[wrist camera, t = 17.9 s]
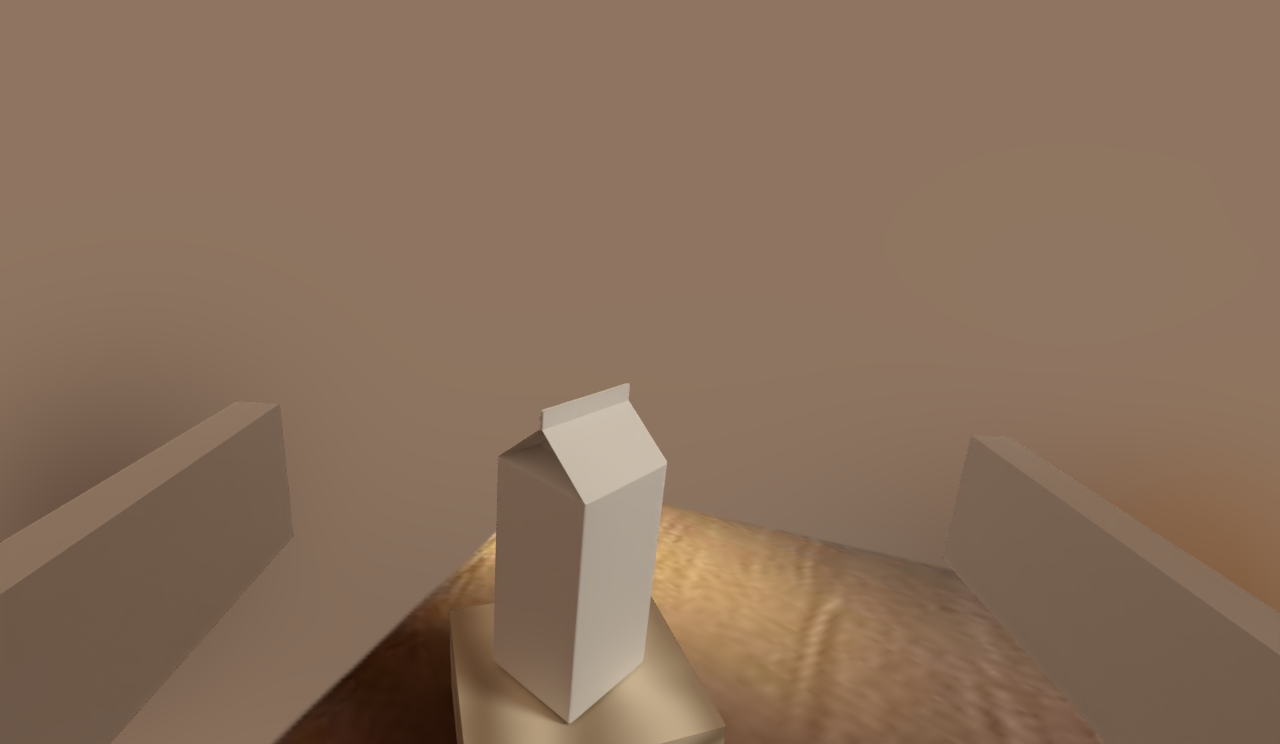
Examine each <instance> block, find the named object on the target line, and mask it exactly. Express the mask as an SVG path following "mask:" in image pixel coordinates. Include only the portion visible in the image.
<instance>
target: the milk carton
mask: <svg viewBox="0 0 1280 744" xmlns="http://www.w3.org/2000/svg"><path fill="white" fill-rule="evenodd" d="M629 389H630V384H628V383H626V384H623V385H620V386H617V387H613V388H610V389H607V390H604V391H601V392H597V393H594V394H591V395H589V396H585V397H582V398H579V399H575V400H572V401H569V402H566V403H563V404H560V405H557V406H554V407H550V408H547V409H544V410H542V411H541V416H540V418H539V419H540V421H541V426H540V427H541V428H540V430H538V431H537V432H535V433H534V434H532V435H531V436H529V437H527V438H526V439H524V440H523V441H521V442H520V443H518V444H517V445H515V446H514V447H512V448H511V449H509V450H507V451H506V452H504V453H503V454H501V455H500V456H499V457H498V458H499V459H498V483H497V487H498V488H497V524H496V526H497V527H496V564H495V604H494V645H493V660H494V661H495V662H496V663H497V664H498V665H499V666H500V667H502V668H503V669H504V670H505V671H506V672H508V673H509V674H510V675H511V676H512V677H513V678H515V679H516V680H517V681H518V682H519V683H521V684H522V685H523V686H524V687H525V688H527V689H528V690H529V691H530V692H531V693H533V694H534V695H535V696H536V697H537V698H539V699H540V700H541V701H542V702H543V703H544V704H546V705H547V706H548V707H549V708H550V709H552V710H553V711H554V712H555V713H556V714H558V715H559V716H560V717H561V718H562V719H564V720H565V721H566V722H567V723H569V724H570V723H572V722H573V721H574V720H576V719H577V718H578V717H579V716H580V715H582V714H583V713H584V712H585V711H586V710H587V709H588V708H590V707H591V706H592V705H593V704H594V703H595V702H597V701H598V700H599V699H600V698H601V697H602V696H604V695H605V694H606V693H607V692H608V691H609V690H611V689H612V688H613V687H614V686H615V685H616V684H618V683H619V682H620V681H621V680H622V679H623V678H625V677H626V676H627V675H628V674H629V673H630V672H631V671H633V670H634V669H635V668H636V667H637V666H638V665H639V664H641V663H642V661H643V658H644V651H645V642H646V634H647V626H648V617H649V609H650V600H651V592H652V584H653V575H654V567H655V559H656V550H657V542H658V534H659V525H660V517H661V509H662V500H663V491H664V483H665V475H666V467H667V461H666V460H665V458H664V456H663V455H662V454H661V452H660V450H659V448H658V447H657V445H656V444H655V442H654V440H653V439H652V437H651V436H650V434H649V433H648V431H647V429H646V428H645V426H644V424H643V423H642V421H641V420H640V418H639V416H638V415H637V413H636V412H635V410H634V408H633V407H632V405H631V404H630V402H629V400H628V399H629Z"/></svg>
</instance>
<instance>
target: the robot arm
mask: <svg viewBox="0 0 1280 744" xmlns="http://www.w3.org/2000/svg"><path fill="white" fill-rule="evenodd" d="M293 536H294V533H293V524H292V515H291V505H290V497H289V487H288V478H287V468H286V459H285V449H284V440H283V430H282V421H281V412H280V404H276V403H254V402H253V403H252V402H235V403H233V404H232V405H230V406H228V407H226V408H225V409H223V410H221V411H220V412H218V413H216V414H215V415H213V416H211V417H210V418H208V419H207V420H205V421H203V422H202V423H200V424H198V425H197V426H195V427H193V428H191V429H190V430H188V431H187V432H185V433H183V434H181V435H180V436H178V437H176V438H175V439H173V440H171V441H170V442H168V443H166V444H165V445H163V446H161V447H160V448H158V449H156V450H155V451H153V452H151V453H150V454H148V455H146V456H145V457H143V458H141V459H140V460H138V461H136V462H135V463H133V464H131V465H130V466H128V467H126V468H124V469H123V470H121V471H119V472H118V473H116V474H115V475H113V476H111V477H109V478H108V479H106V480H104V481H103V482H101V483H99V484H98V485H96V486H95V487H93V488H91V489H89V490H88V491H86V492H84V493H83V494H81V495H79V496H78V497H76V498H74V499H73V500H71V501H69V502H68V503H66V504H64V505H63V506H61V507H59V508H58V509H56V510H54V511H53V512H51V513H49V514H48V515H46V516H44V517H43V518H41V519H39V520H38V521H36V522H34V523H33V524H31V525H29V526H28V527H26V528H24V529H22V530H21V531H19V532H17V533H16V534H14V535H12V536H11V537H9V538H7V539H6V540H4V541H3V542H0V744H110V743H111V742H112V741H113V740H114V739H115V738H116V737H117V735H118V734H119V733H120V732H121V731H122V730H123V729H124V728H125V726H126V725H127V724H128V723H129V722H130V721H131V720H132V719H133V717H134V716H135V715H136V714H137V713H138V712H139V711H140V710H141V708H142V707H143V706H144V705H145V704H146V703H147V702H148V700H149V699H150V698H151V697H152V696H153V695H154V693H156V691H157V690H158V689H159V688H160V687H161V686H162V685H163V683H164V682H165V681H166V680H167V679H168V678H169V677H170V675H171V674H172V673H173V672H174V671H175V670H176V669H177V668H178V666H179V665H180V664H181V663H182V662H183V661H184V660H185V659H186V657H187V656H188V655H189V654H190V653H191V652H192V651H193V650H194V648H195V647H196V646H197V645H198V644H199V643H200V641H201V640H202V639H203V638H204V637H205V636H206V635H207V634H208V632H209V631H210V630H211V629H212V628H213V627H214V626H215V625H216V624H217V622H218V621H219V620H220V619H221V618H222V617H223V616H224V614H225V613H226V612H227V611H228V610H229V609H230V608H231V607H232V605H233V604H234V603H235V602H236V601H237V600H238V599H239V597H240V596H241V595H242V594H243V593H244V592H245V591H246V590H247V588H248V587H249V586H250V585H251V584H252V583H253V582H254V581H255V579H256V578H257V577H258V576H259V575H260V574H261V572H262V571H263V570H264V569H265V568H266V567H267V566H268V565H269V563H270V562H271V561H272V560H273V559H274V558H275V556H276V555H277V554H278V553H279V552H280V551H281V550H282V549H283V548H284V547H285V545H286V544H287V543H288V542H289V541H290V540H291V538H293ZM942 558H943V559H944V560H945V561H946V562H947V564H948V565H949V566H950V567H951V568H952V569H953V570H954V572H955V573H956V574H957V575H958V576H959V577H960V578H961V580H962V581H963V582H964V583H965V584H966V585H967V586H968V588H969V589H970V590H971V591H972V592H973V593H974V594H975V596H976V597H977V598H978V599H979V600H980V601H981V602H982V604H983V605H984V606H985V607H986V608H987V609H988V610H989V612H990V613H991V614H992V615H993V616H994V617H995V618H996V620H997V621H998V622H999V623H1000V624H1001V625H1002V626H1003V628H1004V629H1005V630H1006V631H1007V632H1008V633H1009V634H1010V636H1011V637H1012V638H1013V639H1014V640H1015V641H1016V642H1017V644H1018V645H1019V646H1020V647H1021V648H1022V649H1023V650H1024V652H1025V653H1026V654H1027V655H1028V656H1029V657H1030V658H1031V660H1032V661H1033V662H1034V663H1035V664H1036V665H1037V666H1038V668H1039V669H1040V670H1041V671H1042V672H1043V673H1044V674H1045V676H1046V677H1047V678H1048V679H1049V680H1050V681H1051V682H1052V684H1053V685H1054V686H1055V687H1056V688H1057V689H1058V690H1059V692H1060V693H1061V694H1062V695H1063V696H1064V697H1065V698H1066V700H1067V701H1068V702H1069V703H1070V704H1071V705H1072V706H1073V708H1074V709H1075V710H1076V711H1077V712H1078V713H1079V714H1080V716H1081V717H1082V718H1083V719H1084V720H1085V721H1086V722H1087V724H1088V725H1089V726H1090V727H1091V728H1092V729H1093V730H1094V732H1095V733H1096V734H1097V735H1098V736H1099V737H1100V738H1101V740H1102V741H1103V742H1104V743H1105V744H1280V613H1279V612H1277V611H1276V610H1274V609H1273V608H1271V607H1270V606H1268V605H1267V604H1265V603H1263V602H1262V601H1260V600H1259V599H1257V598H1256V597H1254V596H1253V595H1251V594H1250V593H1248V592H1247V591H1245V590H1243V589H1242V588H1240V587H1239V586H1237V585H1236V584H1234V583H1233V582H1231V581H1230V580H1228V579H1226V578H1225V577H1223V576H1222V575H1220V574H1219V573H1217V572H1216V571H1214V570H1213V569H1211V568H1210V567H1208V566H1206V565H1205V564H1203V563H1202V562H1200V561H1199V560H1197V559H1196V558H1194V557H1193V556H1191V555H1190V554H1188V553H1186V552H1185V551H1183V550H1182V549H1180V548H1179V547H1177V546H1176V545H1174V544H1173V543H1171V542H1170V541H1168V540H1166V539H1165V538H1163V537H1162V536H1160V535H1159V534H1157V533H1156V532H1154V531H1153V530H1151V529H1150V528H1148V527H1146V526H1145V525H1143V524H1142V523H1140V522H1139V521H1137V520H1136V519H1134V518H1132V517H1131V516H1130V515H1128V514H1126V513H1125V512H1123V511H1122V510H1120V509H1118V508H1117V507H1116V506H1114V505H1113V504H1111V503H1110V502H1108V501H1106V500H1105V499H1103V498H1102V497H1100V496H1098V495H1097V494H1096V493H1094V492H1092V491H1091V490H1090V489H1088V488H1086V487H1085V486H1083V485H1082V484H1080V483H1079V482H1077V481H1075V480H1074V479H1072V478H1071V477H1069V476H1068V475H1066V474H1065V473H1063V472H1062V471H1060V470H1059V469H1057V468H1056V467H1054V466H1052V465H1051V464H1049V463H1048V462H1046V461H1045V460H1043V459H1041V458H1040V457H1039V456H1037V455H1036V454H1034V453H1032V452H1031V451H1029V450H1028V449H1026V448H1025V447H1023V446H1022V445H1020V444H1019V443H1017V442H1016V441H1014V440H1013V439H1011V438H1009V437H998V436H976V435H971V438H970V442H969V446H968V451H967V455H966V459H965V463H964V467H963V472H962V476H961V480H960V484H959V489H958V493H957V497H956V501H955V506H954V510H953V514H952V518H951V522H950V526H949V530H948V535H947V540H946V543H945V547H944V551H943V556H942Z"/></svg>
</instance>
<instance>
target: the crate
mask: <svg viewBox="0 0 1280 744" xmlns="http://www.w3.org/2000/svg"><path fill="white" fill-rule="evenodd" d="M494 604H495V603H491V604H485V605H479V606H473V607H467V608H461V609H455V610H449V619H450V658H451V687H452V697H453V707H454V718H455V728H456V738H457V744H724V739H725V732H726V725H725V723H724V721H723V720H722V718H721V716H720V714H719V713H718V711H717V709H716V708H715V706H714V704H713V702H712V701H711V699H710V697H709V695H708V694H707V692H706V690H705V689H704V687H703V685H702V683H701V682H700V680H699V678H698V676H697V675H696V673H695V671H694V670H693V668H692V666H691V664H690V663H689V661H688V659H687V657H686V656H685V654H684V652H683V651H682V649H681V647H680V645H679V644H678V642H677V640H676V638H675V637H674V635H673V633H672V632H671V630H670V628H669V626H668V625H667V623H666V621H665V619H664V618H663V616H662V614H661V612H660V611H659V609H658V607H657V606H656V604H655V602H654V600H653V599H652V597H651V600H650V609H649V617H648V626H647V634H646V642H645V651H644V658H643V661H642V663H641V664H639V665H638V666H637V667H636V668H635V669H634V670H633V671H631V672H630V673H629V674H628V675H627V676H626V677H625V678H623V679H622V680H621V681H620V682H619V683H618V684H616V685H615V686H614V687H613V688H612V689H611V690H609V691H608V692H607V693H606V694H605V695H604V696H602V697H601V698H600V699H599V700H598V701H597V702H595V703H594V704H593V705H592V706H591V707H590V708H588V709H587V710H586V711H585V712H584V713H583V714H582V715H580V716H579V717H578V718H577V719H576V720H574V721H573V722H572V723H570V724H569V723H567V722H566V721H565V720H564V719H562V718H561V717H560V716H559V715H558V714H556V713H555V712H554V711H553V710H552V709H550V708H549V707H548V706H547V705H546V704H544V703H543V702H542V701H541V700H540V699H539V698H537V697H536V696H535V695H534V694H533V693H531V692H530V691H529V690H528V689H527V688H525V687H524V686H523V685H522V684H521V683H519V682H518V681H517V680H516V679H515V678H513V677H512V676H511V675H510V674H509V673H508V672H506V671H505V670H504V669H503V668H502V667H500V666H499V665H498V664H497V663H496V662H495V661H494V660H493V645H494Z"/></svg>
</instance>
